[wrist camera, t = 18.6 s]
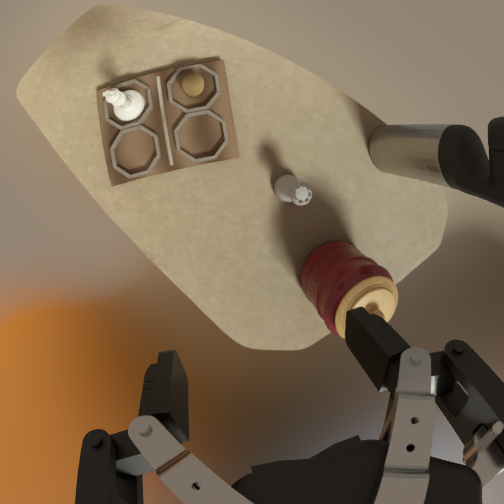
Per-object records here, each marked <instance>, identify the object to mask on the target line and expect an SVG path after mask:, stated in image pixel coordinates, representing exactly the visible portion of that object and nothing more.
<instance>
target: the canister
mask: <svg viewBox="0 0 504 504" xmlns="http://www.w3.org/2000/svg"><path fill="white" fill-rule="evenodd" d="M301 285H302V289H303V292H304V294H305V295H306V297H307V298H308V300H309V301H310V302H311V303H312V304H313V305H314V307H315V308H316V310H317V312H318V314H319V316H320V317H321V318H322V319H323V320H324V321H325V324H326V326H327V328H328V329H329V330H330V331H331V332H332V333H334V334H336V335H338V336H341V337H342V338H344V339H345V323H346V312H347V311H348V310H351V309H354V308H357V307H361V306H362V307H364V308H365V309H366V311H367V312H368V313H369V314H372V313H374V314H376V315H378V316H380V317H382V318H383V319H384V320H385V321H386V322H387V323H388V321H389V320H390V319H391V317H392V315H393V313H394V311H395V309H396V306H397V301H398V292H397V288H396V286H395V284H394V283H393V280H392V277H391V275H390V273H389V272H388V271H387V270H386V269H385V268H383V267H382V266H379V265H378V264H377V263H376V262H375V261H374V260H372V259H370V258H368V257H366V256H365V255H364V254H362V253H361V252H360V251H359V250H358V249H357V248H355V247H354V246H352V245H350V244H348V243H344V242H340V241H333V242H328V243H325V244H323V245H321V246H319V247H318V248H316V249H315V250H314V251H313V252H312V253H311V254H310V255H309V256H308V258H307V259H306V261H305V263H304V265H303V267H302V271H301Z"/></svg>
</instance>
